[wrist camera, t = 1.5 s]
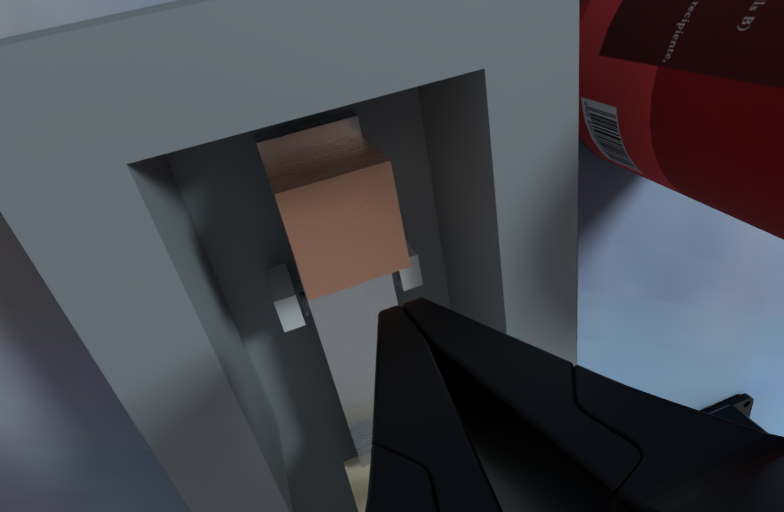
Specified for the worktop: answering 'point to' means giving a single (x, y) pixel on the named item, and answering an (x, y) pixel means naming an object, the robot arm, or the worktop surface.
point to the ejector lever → (340, 246)
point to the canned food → (689, 98)
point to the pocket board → (260, 213)
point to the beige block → (358, 481)
